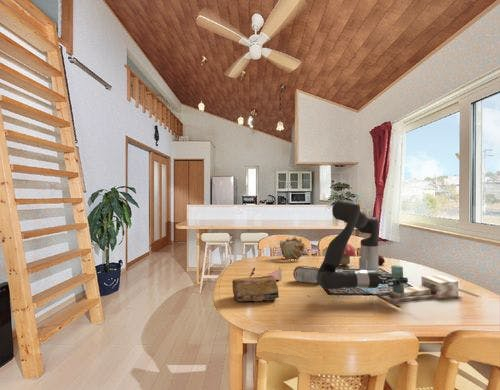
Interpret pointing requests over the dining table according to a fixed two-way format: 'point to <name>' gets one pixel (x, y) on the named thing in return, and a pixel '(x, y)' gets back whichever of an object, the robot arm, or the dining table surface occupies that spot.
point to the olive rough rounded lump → (292, 248)
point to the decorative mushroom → (347, 255)
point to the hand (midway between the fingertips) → (403, 278)
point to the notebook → (276, 274)
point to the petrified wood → (255, 288)
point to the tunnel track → (439, 291)
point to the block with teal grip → (409, 291)
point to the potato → (380, 260)
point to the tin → (306, 274)
